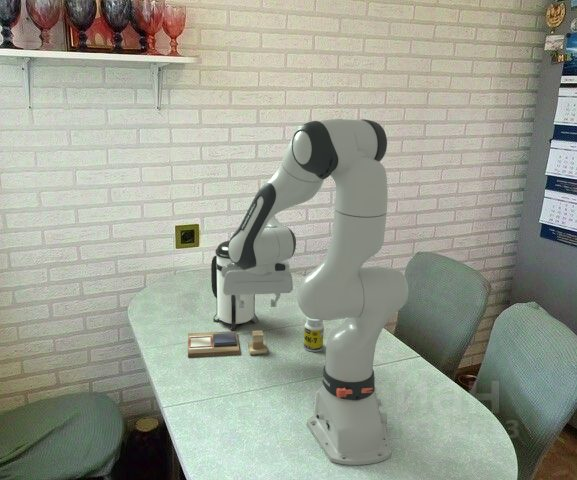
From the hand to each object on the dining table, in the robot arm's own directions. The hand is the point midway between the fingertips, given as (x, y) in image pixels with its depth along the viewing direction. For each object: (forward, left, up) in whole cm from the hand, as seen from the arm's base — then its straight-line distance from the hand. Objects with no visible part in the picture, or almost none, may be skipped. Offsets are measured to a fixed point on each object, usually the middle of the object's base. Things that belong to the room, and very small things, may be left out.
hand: (257, 306), depth 165 cm
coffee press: (+22, +6, -14) cm, 27 cm away
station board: (+5, +13, -14) cm, 20 cm away
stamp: (0, 0, -14) cm, 14 cm away
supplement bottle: (0, -17, -14) cm, 22 cm away
